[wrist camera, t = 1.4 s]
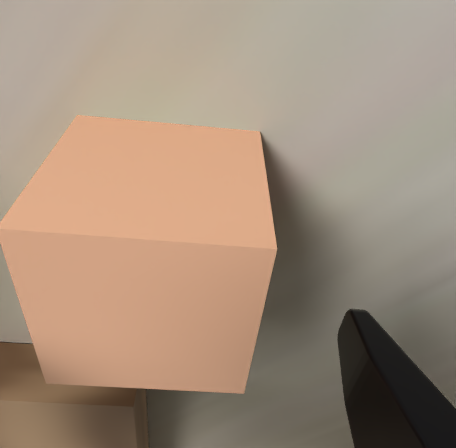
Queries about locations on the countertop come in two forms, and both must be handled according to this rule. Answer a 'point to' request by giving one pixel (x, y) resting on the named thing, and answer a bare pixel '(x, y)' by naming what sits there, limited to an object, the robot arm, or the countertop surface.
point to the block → (144, 255)
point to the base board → (64, 409)
